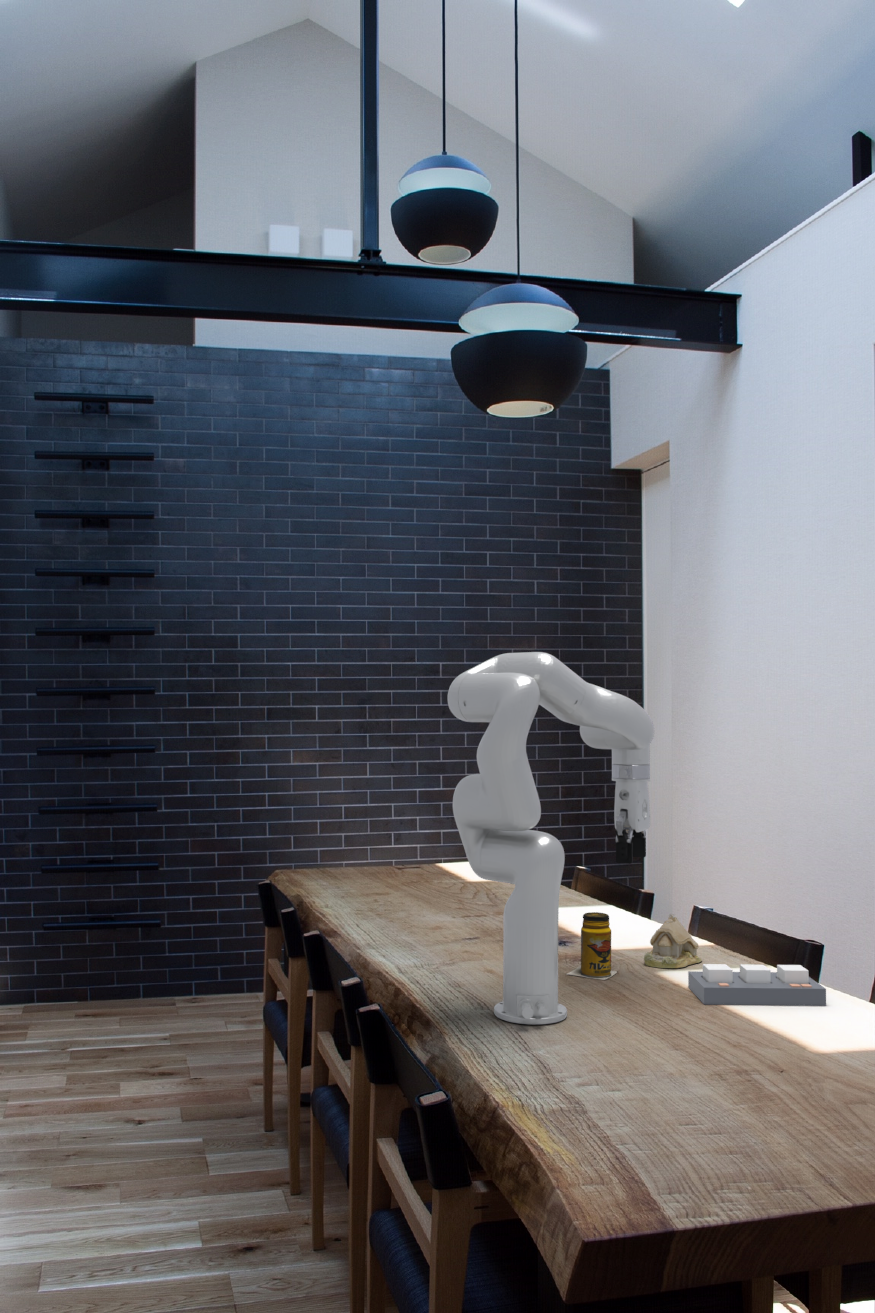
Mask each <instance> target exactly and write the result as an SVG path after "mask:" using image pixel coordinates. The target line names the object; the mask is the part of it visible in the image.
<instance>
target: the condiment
mask: <svg viewBox="0 0 875 1313" xmlns="http://www.w3.org/2000/svg"><path fill="white" fill-rule="evenodd" d="M582 918H583V919H582V927H581V929H580V931H581V932H580V965H579V966H577V967H576V968H575V969H574V970H571V971H569V972H568V973H566V975H570V976H575V977H576V976H578V977H583V978H588V979H595V980H600V981H601V980H602V981H604V980H608V979H610V978H612V977H613V976H614V975H616V974H617V973H618V971H617V970H616V971H615V970H614V971H613V970H612V929H611V927H610V916H609V914H607V913H603V912H599V911H598V912H597V911H596V912H585V913H584V914H583V915H582Z"/></svg>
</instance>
